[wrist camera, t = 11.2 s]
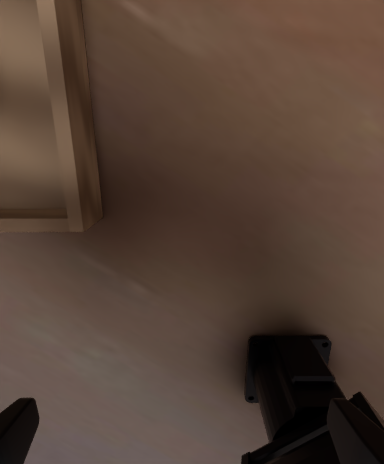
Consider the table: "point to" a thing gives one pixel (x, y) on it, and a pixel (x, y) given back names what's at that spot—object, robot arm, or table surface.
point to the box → (46, 120)
